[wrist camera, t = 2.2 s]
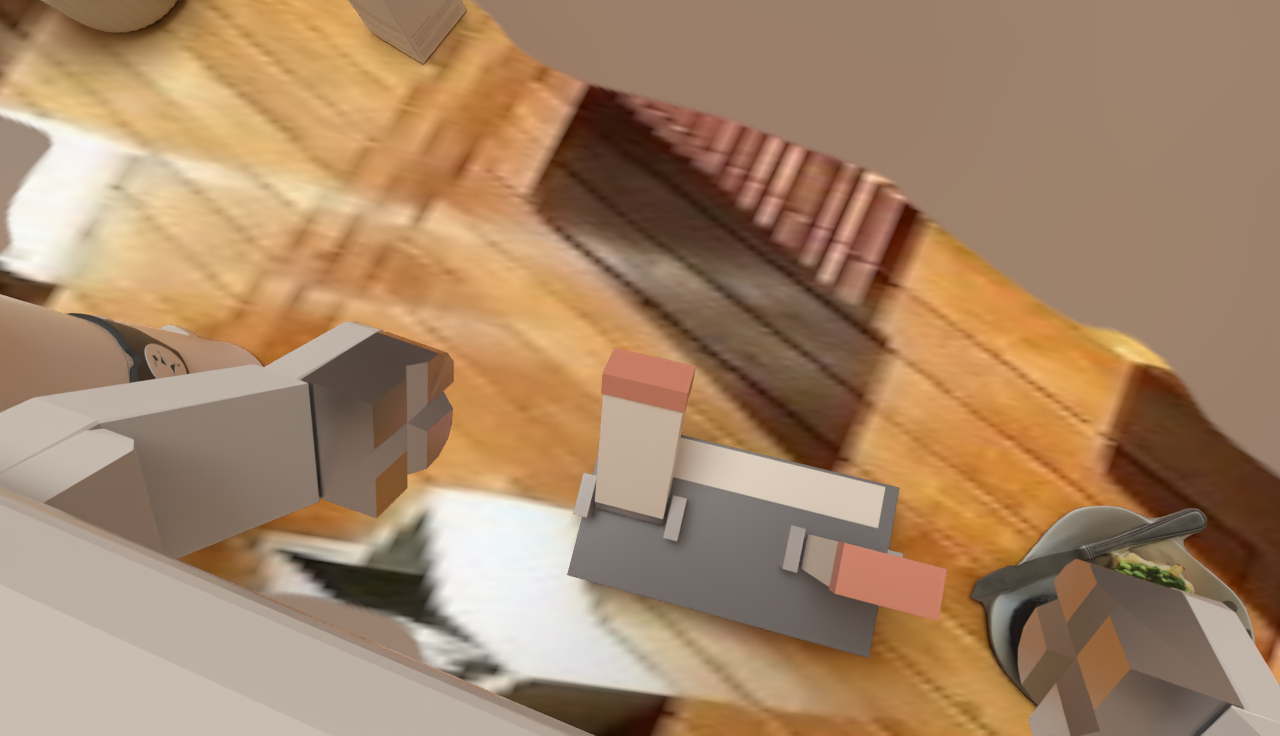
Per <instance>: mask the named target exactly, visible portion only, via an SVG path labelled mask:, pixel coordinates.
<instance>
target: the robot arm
mask: <svg viewBox="0 0 1280 736" xmlns="http://www.w3.org/2000/svg"><path fill="white" fill-rule="evenodd" d="M453 382H454V362H453V360H452V358H451V357H450V356H449V354H448V353H446V352H443V351H441V350H438V349H435V348H432V347H429V346H426V345H423V344H421V343H418V342H415V341H412V340H409V339H406V338H403V337H401V336H398V335H395V334H392V333H389V332H384V331H383V330H381V329H378V328H374V327H371V326H368V325H365V324H362V323H359V322H349V321H346V322H344V323H342V324H340V325H339V326H337V327H335V328H333V329H331V330H330V331H328V332H326V333H324V334H323V335H321V336H319V337H317V338H315V339H314V340H312V341H310V342H308V343H306V344H305V345H303V346H301V347H299V348H298V349H296V350H294V351H292V352H290V353H289V354H287V355H285V356H283V357H282V358H280V359H278V360H276V361H274V362H273V363H271V364H269V365H267V366H265V367H263V366H262V364H261V363H260V362H259V361H258V360H257V359H256V358H255V357H254V356H253V355H252V354H251V353H249V352H248V351H246V350H245V349H243V348H241V347H239V346H237V345H234V344H231V343H227V342H223V341H215V340H207V339H203V338H200V337H198V336H197V335H195V334H194V333H192V332H191V331H189V330H187V329H185V328H183V327H180V326H175V325H166V326H163V327H162V328H160V329H157V328H152V327H147V326H142V325H137V324H131V323H126V322H121V321H114V320H112V319H108V318H104V317H100V316H91V315H86V314H78V313H69V314H65V313H61V312H58V311H54V310H51V309H48V308H44V307H41V306H37V305H34V304H31V303H27V302H24V301H20V300H17V299H14V298H10V297H7V296H3V295H0V736H594V735H592V734H590V733H587V732H585V731H582V730H580V729H578V728H575V727H573V726H571V725H568V724H566V723H563V722H561V721H559V720H556V719H554V718H552V717H549V716H547V715H544V714H542V713H540V712H537V711H535V710H533V709H530V708H528V707H526V706H523V705H521V704H518V703H516V702H514V701H511V700H509V699H507V698H504V697H502V696H499V695H497V694H495V693H492V692H490V691H488V690H485V689H483V688H481V687H478V686H476V685H473V684H471V683H469V682H466V681H464V680H462V679H459V678H457V677H455V676H452V675H450V674H447V673H445V672H443V671H440V670H438V669H436V668H433V667H431V666H428V665H426V664H424V663H421V662H419V661H417V660H414V659H412V658H409V657H407V656H405V655H402V654H400V653H398V652H395V651H393V650H391V649H388V648H386V647H383V646H381V645H378V644H376V643H374V642H372V641H369V640H367V639H365V638H362V637H360V636H357V635H355V634H353V633H350V632H348V631H346V630H343V629H341V628H339V627H336V626H334V625H331V624H329V623H327V622H324V621H322V620H319V619H317V618H315V617H312V616H310V615H308V614H305V613H303V612H301V611H298V610H296V609H294V608H291V607H289V606H286V605H284V604H282V603H279V602H277V601H275V600H272V599H270V598H267V597H265V596H263V595H260V594H258V593H256V592H253V591H251V590H248V589H246V588H244V587H241V586H239V585H237V584H234V583H232V582H229V581H227V580H225V579H222V578H220V577H218V576H215V575H213V574H211V573H208V572H206V571H203V570H201V569H199V568H196V567H194V566H192V565H189V564H187V563H184V562H182V561H180V560H177V559H178V558H181V557H183V556H186V555H188V554H191V553H193V552H196V551H198V550H201V549H203V548H206V547H208V546H211V545H213V544H216V543H218V542H220V541H223V540H225V539H228V538H230V537H233V536H235V535H238V534H240V533H243V532H245V531H248V530H250V529H253V528H255V527H258V526H260V525H263V524H265V523H268V522H270V521H273V520H275V519H278V518H280V517H283V516H285V515H288V514H290V513H293V512H295V511H298V510H300V509H302V508H305V507H307V506H310V505H312V504H315V503H317V502H319V501H320V500H319V498H320V499H323V500H326V501H329V502H331V503H334V504H337V505H340V506H343V507H346V508H349V509H351V510H354V511H357V512H360V513H363V514H366V515H369V516H371V517H374V518H378V517H379V516H380V515H381V514H382V513H383V512H384V511H385V510H386V509H387V508H388V507H389V506H390V505H391V504H392V503H393V502H394V501H395V500H396V499H397V498H398V497H399V496H400V495H401V494H402V493H403V492H404V491H405V490H406V489H407V475H408V474H411V473H414V472H418V471H421V470H424V469H427V468H428V467H429V466H430V465H431V464H432V463H433V461H434V460H435V459H436V458H437V457H438V456H439V454H440V452H441V451H442V449H443V447H444V445H445V443H446V441H447V439H448V437H449V433H450V429H451V425H452V412H453V408H452V406H451V404H450V402H449V401H448V399H447V397H446V395H445V393H444V392H443V391H444V390H445V389H446V388H447V387H448V386H450V385H451V384H452V383H453ZM1054 584H1055V588H1056V591H1057V595H1058V599H1057V600H1055V601H1052V602H1049V603H1046V604H1044V605H1041V606H1038V607H1036V608H1035V610H1034V611H1033V613H1032V614H1031V616H1030V618H1029V619H1028V621H1027V622H1026V624H1025V626H1024V628H1023V632H1022V635H1021V639H1020V643H1019V647H1018V669H1019V674H1020V679H1021V685H1022V686H1023V687H1024V688H1025V690H1026V691H1027V692H1028V693H1029V694H1030V696H1031V697H1032V698H1033V699H1034V701H1035V702H1036V703H1037V704H1038V707H1037V708H1036V710H1035V711H1034V712H1033V714H1032V715H1031V716H1030V717H1029V722H1030V726H1031V731H1032V735H1033V736H1280V685H1279V684H1278V682H1277V680H1276V679H1275V677H1274V675H1273V674H1272V672H1271V670H1270V669H1269V667H1268V666H1267V664H1266V662H1265V661H1264V659H1263V657H1262V656H1261V654H1260V652H1259V651H1258V649H1257V648H1256V646H1255V644H1254V643H1253V641H1252V639H1251V638H1250V636H1249V634H1248V633H1247V631H1246V629H1245V628H1244V626H1243V625H1242V623H1241V621H1240V620H1239V618H1238V616H1237V615H1236V613H1235V612H1234V611H1233V610H1231V609H1230V608H1229V607H1227V606H1226V605H1225V604H1223V603H1222V602H1219V601H1216V600H1212V599H1209V598H1206V597H1202V596H1199V595H1195V594H1192V593H1189V592H1185V591H1182V590H1178V589H1175V588H1169V587H1165V586H1162V585H1159V584H1156V583H1152V582H1149V581H1146V580H1143V579H1140V578H1136V577H1133V576H1130V575H1127V574H1124V573H1120V572H1117V571H1114V570H1111V569H1108V568H1104V567H1101V566H1098V565H1095V564H1091V563H1088V562H1085V561H1082V560H1079V559H1075V560H1073V561H1072V562H1071V563H1069V564H1068V565H1066V566H1065V567H1064V568H1063V570H1062V571H1061V572H1060V574H1059V575H1058V576H1057V578H1056V579H1055V581H1054Z"/></svg>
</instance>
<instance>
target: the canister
mask: <svg viewBox="0 0 1280 736" xmlns="http://www.w3.org/2000/svg"><path fill="white" fill-rule="evenodd" d="M41 1H42V2H44V3H46V4H47V5H49V6H51V7H52V8H54V9H56V10H57V11H59V12H61V13H62V14H64V15H66V16H68V17H69V18H71V19H73V20H75V21H77V22H79V23H81V24H83V25H85V26H88V27H90V28H94V29H98V30H100V31H104V32H113V33H120V32H125V33H126V32H130V31H137V30H139V29H140V28H146V27H147V26H148V25H150V24H154V23H155V22H156V21H157V20H159V19H162V17H163V16H164V15H165V14H167V13H168V12H169V10H170V9H171V8H172V7H174V5H175V3H176V2H177V1H178V0H41Z"/></svg>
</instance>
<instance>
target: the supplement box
mask: <svg viewBox="0 0 1280 736" xmlns="http://www.w3.org/2000/svg"><path fill="white" fill-rule="evenodd" d="M349 2H350V3H351V4H352V6H353V7H354V9H355V10H356V11H357V13H358V14H359V16H360V17H361V19H362V20H363V22H364V23H365V25H366V26H367V27H368V29H369V30H370V32H372V33H373V34H375V35H376V36H378V37H379V38H381V39H383V40H384V41H386V42H388V43H389V44H391V45H392V46H394V47H396V48H397V49H399V50H401V51H402V52H404V53H405V54H407V55H409V56H410V57H412V58H414V59H415V60H417V61H419V62H420V63H422V64H423V63H424V62H425V61H426V60H427V59H428V58H429V56H430V55H431V54H432V53H433V52H434V50H435V49H436V48H437V47H438V45H439V44H440V43H441V42H442V41H443V39H444V38H445V37H446V36H447V35H448V33H449V32H450V31H451V29H452V28H453V27H454V26H455V24H456V23H457V22H458V21H459V20H460V18H461V17H462V16H463V14H464V13H465V11H466V8H465V6H464V4H463V2H462V0H349Z"/></svg>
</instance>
